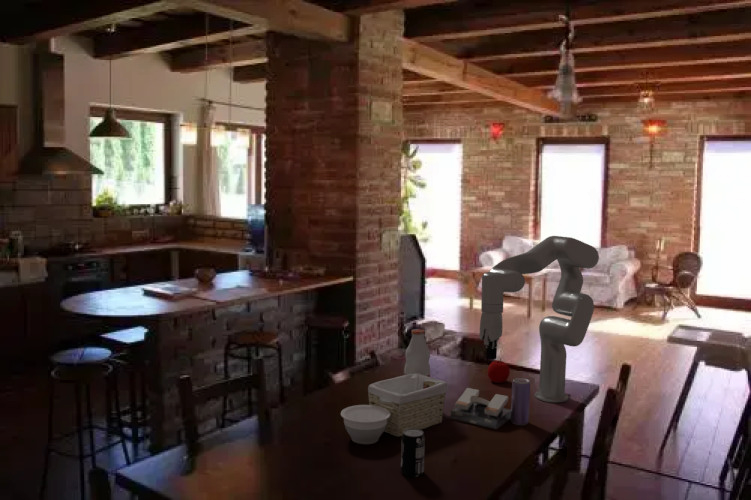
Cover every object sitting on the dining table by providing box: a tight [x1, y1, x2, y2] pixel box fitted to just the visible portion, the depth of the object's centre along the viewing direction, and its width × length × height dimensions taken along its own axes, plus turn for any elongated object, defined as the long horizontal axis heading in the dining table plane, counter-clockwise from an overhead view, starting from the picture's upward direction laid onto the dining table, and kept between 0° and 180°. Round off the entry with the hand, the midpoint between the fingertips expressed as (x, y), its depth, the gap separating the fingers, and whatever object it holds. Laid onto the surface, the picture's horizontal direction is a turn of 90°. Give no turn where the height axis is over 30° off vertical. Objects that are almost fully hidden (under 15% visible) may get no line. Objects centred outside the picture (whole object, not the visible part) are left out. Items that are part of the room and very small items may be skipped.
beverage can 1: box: [400, 428, 426, 478], centre depth 194 cm, size 7×7×12 cm
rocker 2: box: [470, 396, 491, 406], centre depth 239 cm, size 10×4×2 cm, turn 147°
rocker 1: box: [454, 387, 480, 410], centre depth 242 cm, size 10×4×2 cm, turn 146°
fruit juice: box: [403, 328, 431, 389], centre depth 251 cm, size 9×9×28 cm
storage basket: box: [367, 373, 448, 437], centre depth 231 cm, size 24×16×15 cm
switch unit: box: [450, 402, 511, 430], centre depth 239 cm, size 13×17×5 cm
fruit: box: [486, 357, 511, 384], centre depth 282 cm, size 9×9×10 cm
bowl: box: [340, 404, 390, 445], centre depth 219 cm, size 16×16×8 cm
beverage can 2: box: [510, 377, 531, 426], centre depth 235 cm, size 6×6×15 cm
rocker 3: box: [484, 393, 509, 416], centre depth 236 cm, size 10×4×2 cm, turn 146°
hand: (491, 358), depth 242 cm, fingers closed
